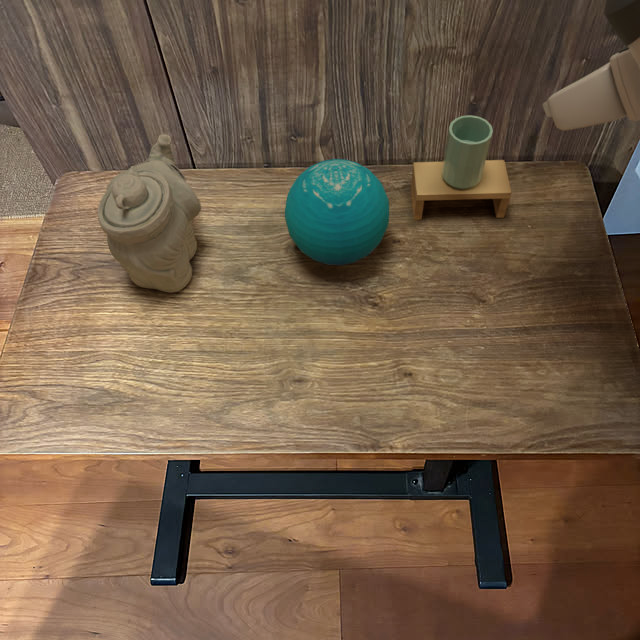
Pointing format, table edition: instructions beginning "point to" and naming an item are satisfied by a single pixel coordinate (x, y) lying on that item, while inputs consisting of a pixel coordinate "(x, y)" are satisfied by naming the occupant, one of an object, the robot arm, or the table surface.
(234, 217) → the table surface
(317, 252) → the decorative orb
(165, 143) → the teapot
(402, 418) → the table surface
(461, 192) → the shelf
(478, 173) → the sage green tumbler
